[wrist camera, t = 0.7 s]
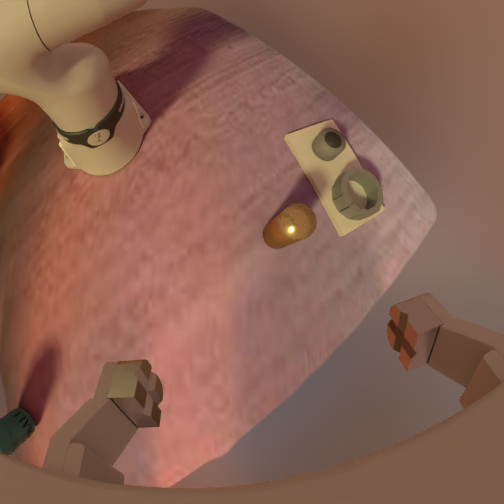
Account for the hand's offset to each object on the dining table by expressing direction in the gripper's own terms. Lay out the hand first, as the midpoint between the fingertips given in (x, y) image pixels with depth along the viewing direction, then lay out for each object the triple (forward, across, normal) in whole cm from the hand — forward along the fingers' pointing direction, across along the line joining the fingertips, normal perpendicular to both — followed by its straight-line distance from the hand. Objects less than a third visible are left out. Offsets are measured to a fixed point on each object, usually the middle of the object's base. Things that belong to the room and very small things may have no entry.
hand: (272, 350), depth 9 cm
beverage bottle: (+16, +53, +32) cm, 64 cm away
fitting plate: (+47, -20, +8) cm, 52 cm away
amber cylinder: (+40, -5, +14) cm, 43 cm away
